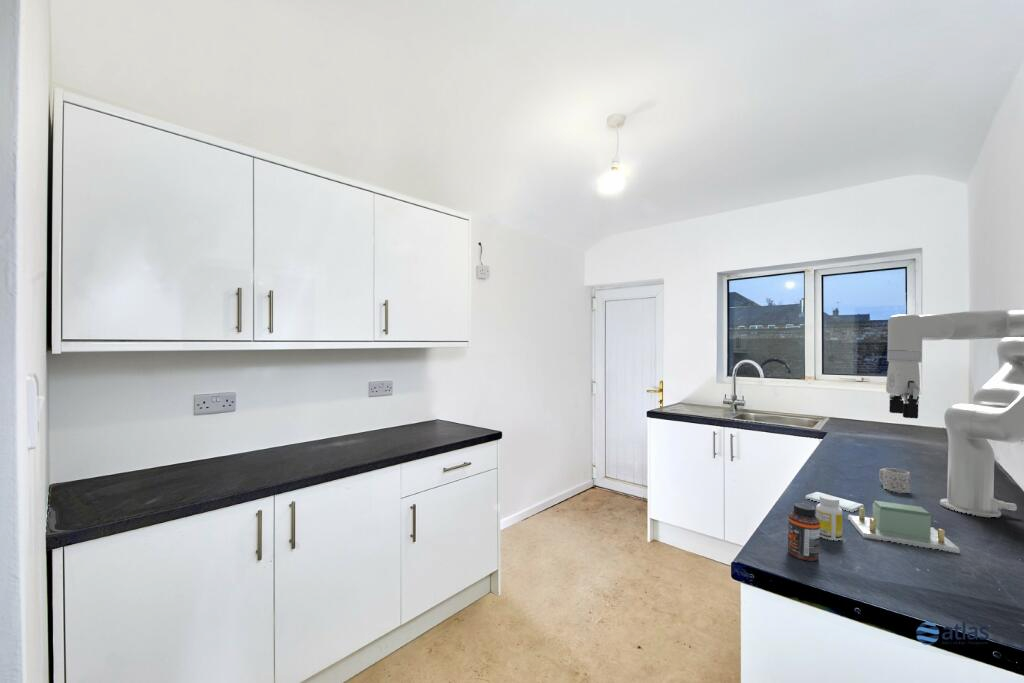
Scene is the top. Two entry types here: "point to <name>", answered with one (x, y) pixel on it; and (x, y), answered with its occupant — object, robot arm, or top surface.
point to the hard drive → (843, 503)
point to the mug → (895, 480)
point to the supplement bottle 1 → (804, 532)
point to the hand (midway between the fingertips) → (903, 415)
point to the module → (902, 518)
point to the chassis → (872, 532)
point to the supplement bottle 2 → (830, 518)
